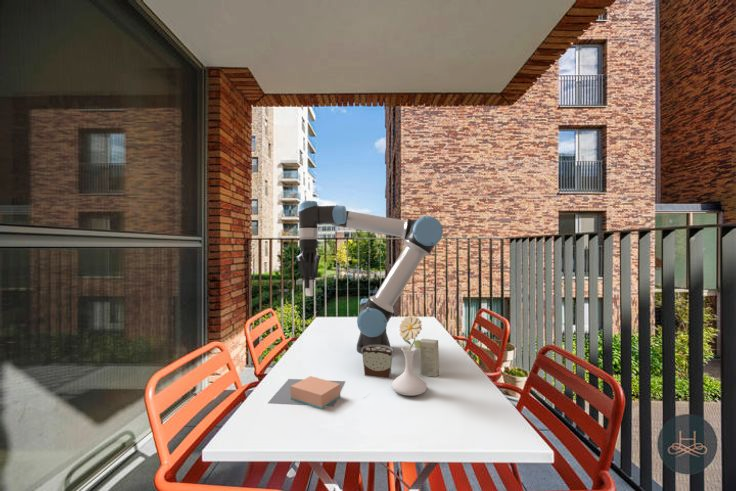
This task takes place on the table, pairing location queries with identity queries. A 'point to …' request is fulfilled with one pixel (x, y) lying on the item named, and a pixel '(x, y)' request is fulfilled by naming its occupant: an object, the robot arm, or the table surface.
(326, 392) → the salmon orange block
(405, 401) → the table surface
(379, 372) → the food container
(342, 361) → the table surface
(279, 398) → the mat
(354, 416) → the table surface
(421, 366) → the skincare box
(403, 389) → the flower in vase
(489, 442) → the table surface
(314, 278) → the robot arm
